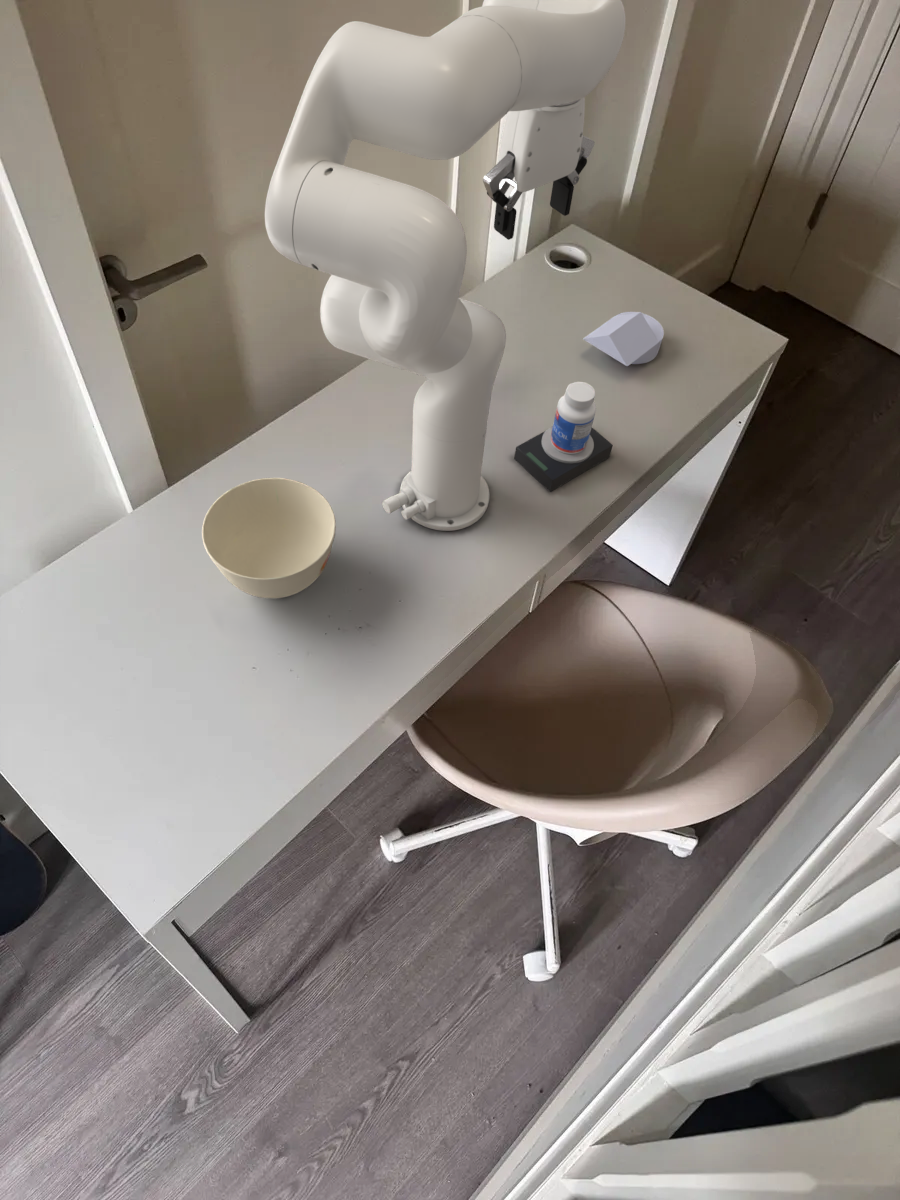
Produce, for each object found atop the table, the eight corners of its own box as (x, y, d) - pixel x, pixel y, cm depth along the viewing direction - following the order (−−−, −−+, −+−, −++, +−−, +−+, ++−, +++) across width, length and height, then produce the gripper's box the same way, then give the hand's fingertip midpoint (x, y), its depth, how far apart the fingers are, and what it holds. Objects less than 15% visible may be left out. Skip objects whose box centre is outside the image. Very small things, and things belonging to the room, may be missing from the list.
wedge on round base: (622, 383, 137) (669, 346, 143) (632, 349, 132) (680, 312, 138) (578, 355, 141) (625, 321, 146) (586, 321, 135) (635, 287, 141)
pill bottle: (543, 434, 125) (553, 382, 117) (575, 424, 127) (587, 373, 119) (561, 459, 123) (573, 408, 115) (593, 449, 124) (607, 398, 116)
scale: (550, 492, 123) (553, 477, 121) (513, 458, 126) (516, 444, 124) (609, 457, 128) (614, 442, 125) (573, 425, 131) (576, 411, 129)
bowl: (279, 509, 119) (271, 458, 110) (365, 571, 113) (363, 522, 105) (189, 579, 111) (173, 529, 103) (276, 648, 106) (267, 602, 98)
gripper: (584, 51, 103) (561, 189, 117) (471, 87, 96) (461, 229, 110) (628, 77, 100) (599, 215, 114) (515, 116, 93) (499, 258, 107)
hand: (531, 222), depth 112 cm, fingers open, 9 cm apart
